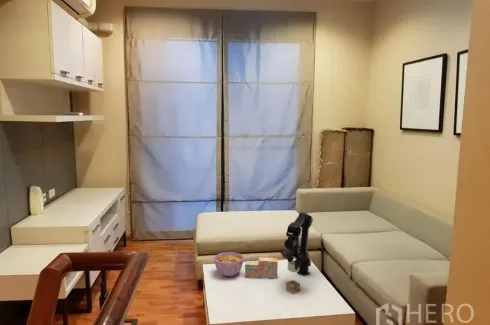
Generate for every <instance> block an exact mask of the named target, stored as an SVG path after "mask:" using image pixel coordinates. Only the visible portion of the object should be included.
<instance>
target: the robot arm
mask: <svg viewBox="0 0 490 325" xmlns="http://www.w3.org/2000/svg"><path fill="white" fill-rule="evenodd" d="M313 221H314V218H313V217H312V216H311V215H310V214H308V213H307V212H299V213H298V216H297V217H296V219H295V220H294V221H292V222H290V223H289V224H288V226H287V229H286V233H285V236H286V237H287V239H285V241H284V243H283V244H284V247H285V248H283V249H281V251H280V255H281V256H282V258H283V259H286V260H287V263H288V262H290V261H294V262H295V270H297V269H298V267H299V271H297V272H296V273H297V274H299V275H301V276H307V275H310V274H311V272H310V271H309V267H311V266H312V260H311V258H310V254H309V251H308V244H309V243H308V242H309V233H310V232H309V229H310V228H311V227H312V223H313ZM299 237H300V238H299ZM299 241H300V242H299ZM299 249H300V250H299ZM294 258H295V259H294Z"/></svg>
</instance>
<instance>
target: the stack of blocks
mask: <svg viewBox="0 0 490 325" xmlns="http://www.w3.org/2000/svg"><path fill="white" fill-rule="evenodd" d="M278 260H279V259H278V258H277V257H276V258H275V257H258V261H254V260H252V261H249V260H246V261H245V263H244V278H246V279H248V278H249V279H262V278H268V279H267V280H275V279H276V280H277V279H278V268H279V267H278V263H279V262H278Z"/></svg>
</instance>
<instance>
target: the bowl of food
mask: <svg viewBox="0 0 490 325" xmlns="http://www.w3.org/2000/svg"><path fill="white" fill-rule="evenodd" d="M213 260H214V265H215V267H216V271H217V272H218V273H219V274H220V275H222V276H224V277H234V276H235V275H237V274H239V273H240V272H241V270H242V267H243V264H244V263H243V262H244V260H245V259H244V256H243V254H240V253H238V252H231V251H229V252H221V253H218V254H215V256H214V257H213Z"/></svg>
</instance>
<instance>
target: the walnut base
mask: <svg viewBox="0 0 490 325" xmlns="http://www.w3.org/2000/svg"><path fill="white" fill-rule="evenodd" d="M285 290H286V291H285V292H287V291H288V292H290V293H292V294H294V293H296V294H298V293H297V292H299V293H301V292H300V291H301V283H300V282H298V281H296V280H294V279H293V280H290V281H286V283H285ZM288 292H287V293H288ZM290 293H289V294H290ZM292 294H291V295H292ZM294 295H295V294H294Z"/></svg>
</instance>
